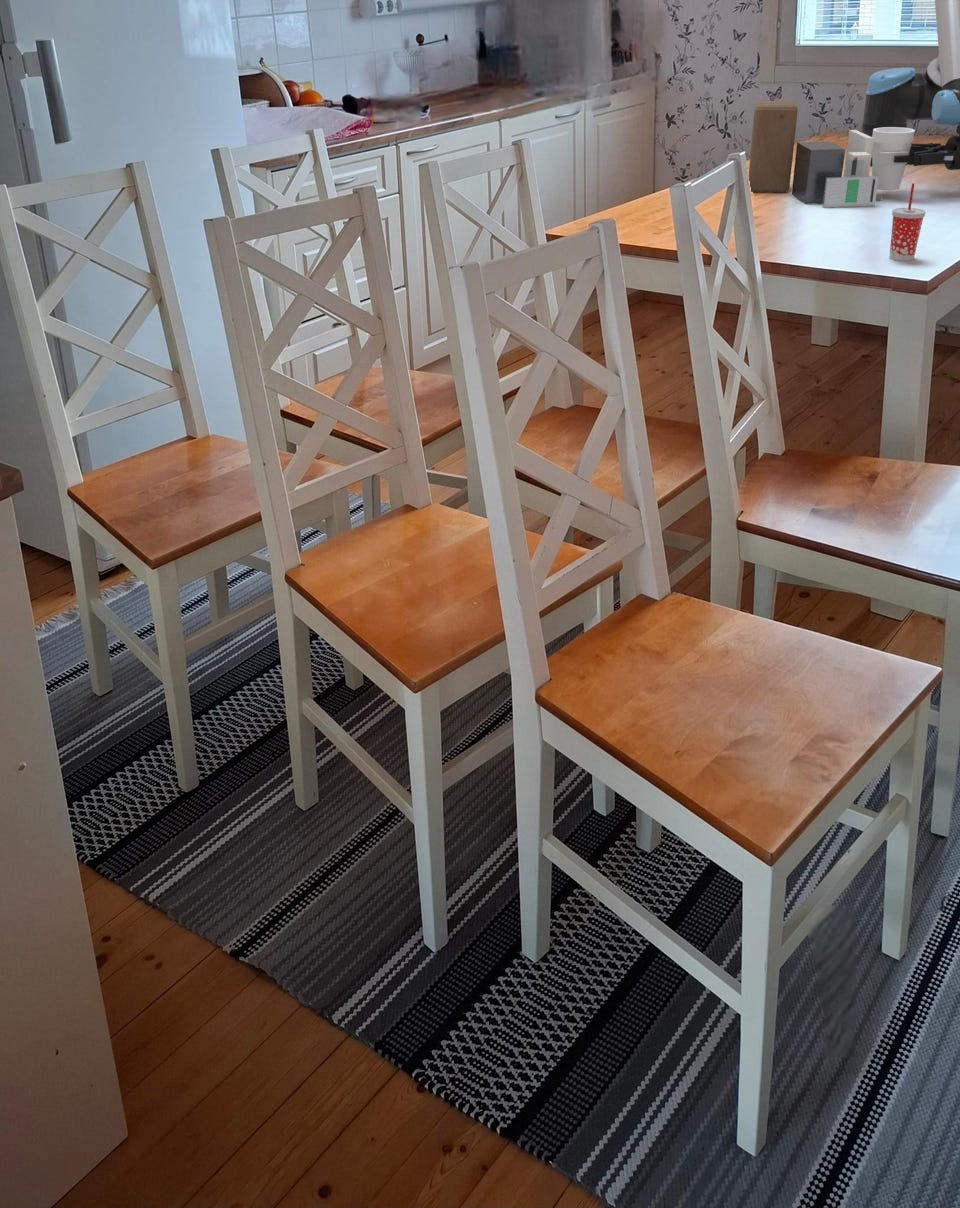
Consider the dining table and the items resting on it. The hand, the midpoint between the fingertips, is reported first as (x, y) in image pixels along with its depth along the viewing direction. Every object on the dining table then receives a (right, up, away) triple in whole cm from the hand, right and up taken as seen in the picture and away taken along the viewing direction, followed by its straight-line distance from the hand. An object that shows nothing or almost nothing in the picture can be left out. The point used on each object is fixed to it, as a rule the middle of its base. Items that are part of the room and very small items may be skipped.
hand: (872, 155), depth 277 cm
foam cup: (+5, -7, +4) cm, 9 cm away
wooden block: (-21, -3, +16) cm, 26 cm away
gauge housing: (-7, -10, +2) cm, 12 cm away
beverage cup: (-10, -39, -47) cm, 62 cm away
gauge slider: (-5, -8, +2) cm, 10 cm away
